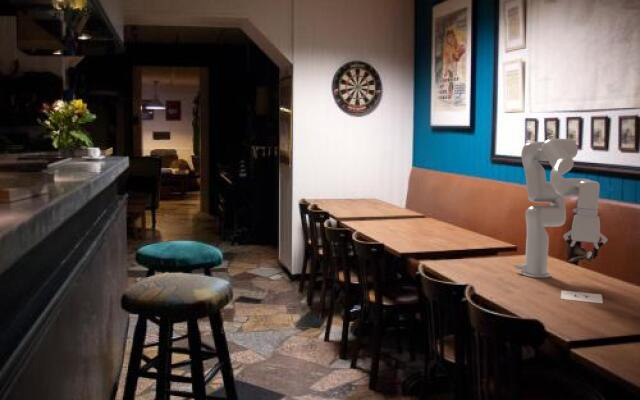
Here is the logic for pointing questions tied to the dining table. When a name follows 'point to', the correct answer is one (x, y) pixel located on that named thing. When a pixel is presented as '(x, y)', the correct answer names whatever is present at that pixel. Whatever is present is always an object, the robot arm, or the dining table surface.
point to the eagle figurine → (581, 254)
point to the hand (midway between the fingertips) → (583, 256)
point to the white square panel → (581, 296)
